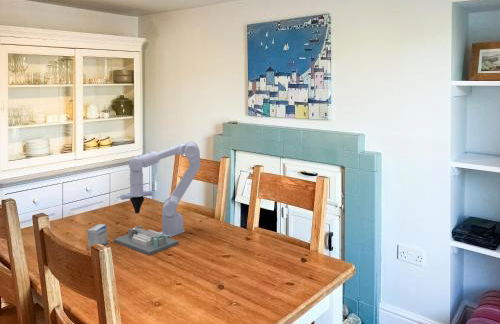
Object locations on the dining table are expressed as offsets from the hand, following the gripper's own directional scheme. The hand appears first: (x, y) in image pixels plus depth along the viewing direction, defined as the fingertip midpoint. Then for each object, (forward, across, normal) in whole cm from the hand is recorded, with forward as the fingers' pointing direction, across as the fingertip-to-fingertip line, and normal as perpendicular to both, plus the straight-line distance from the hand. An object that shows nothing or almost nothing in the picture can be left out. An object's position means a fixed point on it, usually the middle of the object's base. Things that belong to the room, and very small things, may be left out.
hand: (137, 212), depth 196 cm
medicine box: (+11, -19, -4) cm, 22 cm away
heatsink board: (+10, -1, -12) cm, 16 cm away
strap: (+6, -1, -13) cm, 15 cm away
